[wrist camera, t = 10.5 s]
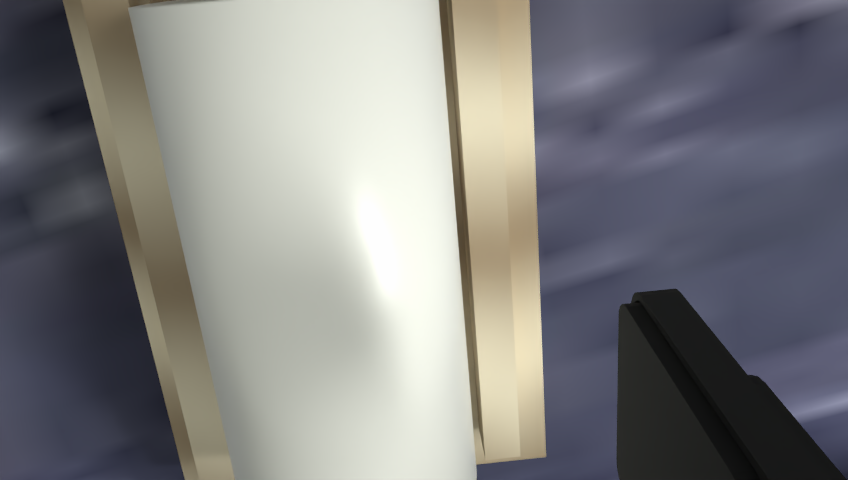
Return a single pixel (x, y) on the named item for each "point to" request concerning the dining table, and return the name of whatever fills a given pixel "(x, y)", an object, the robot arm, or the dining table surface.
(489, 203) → the holder
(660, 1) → the dining table surface
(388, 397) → the roll
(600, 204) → the dining table surface
